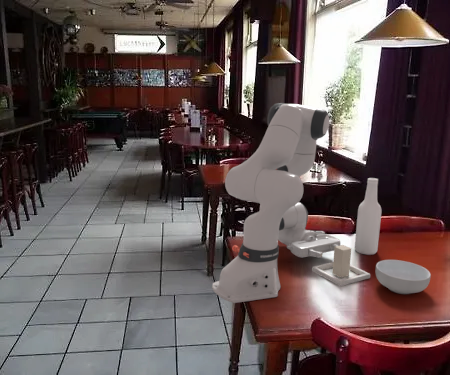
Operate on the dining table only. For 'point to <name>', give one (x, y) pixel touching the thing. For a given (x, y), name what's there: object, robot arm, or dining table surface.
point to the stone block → (341, 261)
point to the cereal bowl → (402, 276)
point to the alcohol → (368, 221)
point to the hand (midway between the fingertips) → (330, 253)
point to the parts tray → (360, 277)
